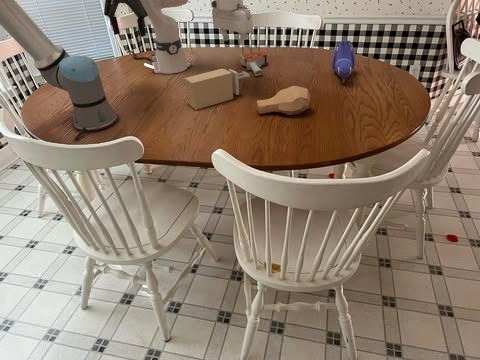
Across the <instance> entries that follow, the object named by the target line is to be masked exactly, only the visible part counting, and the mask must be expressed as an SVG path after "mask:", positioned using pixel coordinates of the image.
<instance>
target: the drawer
mask: <svg viewBox="0 0 480 360" xmlns="http://www.w3.org/2000/svg"><path fill="white" fill-rule="evenodd" d="M228 71H229V72H231V73H232V86H233V95H236V96H239V95H240V85H239V84H240V83H239V82H240V81H239V79H243V78H250V76H251V75H250V73H248V72H246V71H244V70H242V71H241V72H240V73H239V72H238V71H236V70H233V69H231V68H230V69H228Z"/></svg>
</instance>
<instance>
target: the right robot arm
mask: <svg viewBox="0 0 480 360" xmlns="http://www.w3.org/2000/svg"><path fill="white" fill-rule="evenodd" d="M140 1H141V3H142V5H143V7H144V8H145V10H146V12H147V14H148V16H147V18H148V19H149V21H150V22H151V25H152V28H153V31H154V36H155V48H156V50H155V52H154V53H152V54H151V57H147V56H136V55H137V54H136V53H135V52H134V51H132V50H130V49H129V50H127V51H126V53H127V54H129V53H130V54H132V55H133V58H134V59H135V60H136V59H137V60H148V61H150V62H152V63H151V65H150V64H147V63H144V66H145V67H148V68H151V69H153V72H154V74H167V75H168V74H169V75H171V74H177V73H181V72H184V71H186V70H187V69H188V68H189V67H191V63H190V62H189V61H188V58H187V53H186V50H185V48H183V47H182V46H183V45H182V39H181V38H180V31H179V25H178V22H177V20H176V19H175V18H173V17H172V16H170V15H167V14H165V13H163V12H162V10H163V9H171V8H177V7H182V6H184V5H186V4H188V2H189V0H140ZM210 7H211V8H212V9H211V10H212V11H211V15H212V24H213V26H214V28H216V29H220V30H219V31H220V34H221V36H222V40H223V41H224V42H227V41H229V40H230V38H229V37H230V35H228V33H227V32H228V31H230V32H234V33H238V35H239V38H238V39H237V45H240V46H243V45H244V44H245V38H246V36H247V34H251V33H252V32H253V30H254V25H253V17H252V13H251V10H250V8H249V7H248V5H247V4H244V0H212V1H211V2H210Z"/></svg>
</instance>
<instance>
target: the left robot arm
mask: <svg viewBox="0 0 480 360" xmlns="http://www.w3.org/2000/svg"><path fill="white" fill-rule="evenodd" d="M119 4H123V5H124V4H125V5H127V6H128V7H129V9H130V11H132V13H134V15H135V16H136V18H137V19H136V22H137V27H138V31H139V36H140V38H143V37H145V36H147V34H146V33H147V32H146V21H145V18H148V14H147V12H146V10H145V8H144V7H143V5H142V3H141V1H140V0H104V9H103V15H104V16H106V17H108V18H109V23H110V26H111V27H112V31H113V35H114V36H117V35H119V34H121V31H120V27H119V23H118V19H117V18H118V17H117V16H116V13H117V9H118V6H119ZM0 27H2V29H4V30H5V32H7V33H8V34H9V35H10V37H12V38H13V39H14V41H15V42H16V43H17V44H18V45H19V46H20V47H21V48H22V49H23V50H24V51H25V52H26V53H27V54H28V55H29V56H30V57H31V58H32V59H33V66H34V67H35V68H36V69H37V70H38V71H39V73H40V75H41V77H42V79H44V81H45V82H46V83H47V84H49V85H50V86H52V87H54V88H58V89H60V90H63V91H65V92H67V93H68V96H69V99H70V101H71V104H72V108H73V114H72V117H73V118H72V119H73V125H74V128H75V129H76V131H78V133H77V134H76V135H75V137H74V141H78V140H79V138H80V137H81V136H82V134H83V133H92V132H99V131H102V130H105V129H107V128H110V127H111V126H113V125H115V124H116V122H117V121H118V116H117V113H116V111H115V110H114V108H113V107H112V105H111V103H110V102H109V101H108V99H107V96H106V92H105V89H104V87H103V86H104V85H103V83H102V79H101V75H100V71H99V68H98V66H97V63H96V60H94V59H93V57H92V58H91V57H90V56H87V55H70V54H69V53H68V52H67V51H66V50H65V48H63V46H62V45H59V44H54V43H53V41H52V40H51V39H50V38H49V37H48V35H46V33H44V31H43V30H42V29H41V28H40V27H39V26H38V24H37V23H36V22H35V21H34V20H33V18H31V16H30V15H29V14H28V13H27V12H26V11H25V10H24V8H23V7H22V6H21V5H20V4H19V3H18V2H17V0H0Z"/></svg>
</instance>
